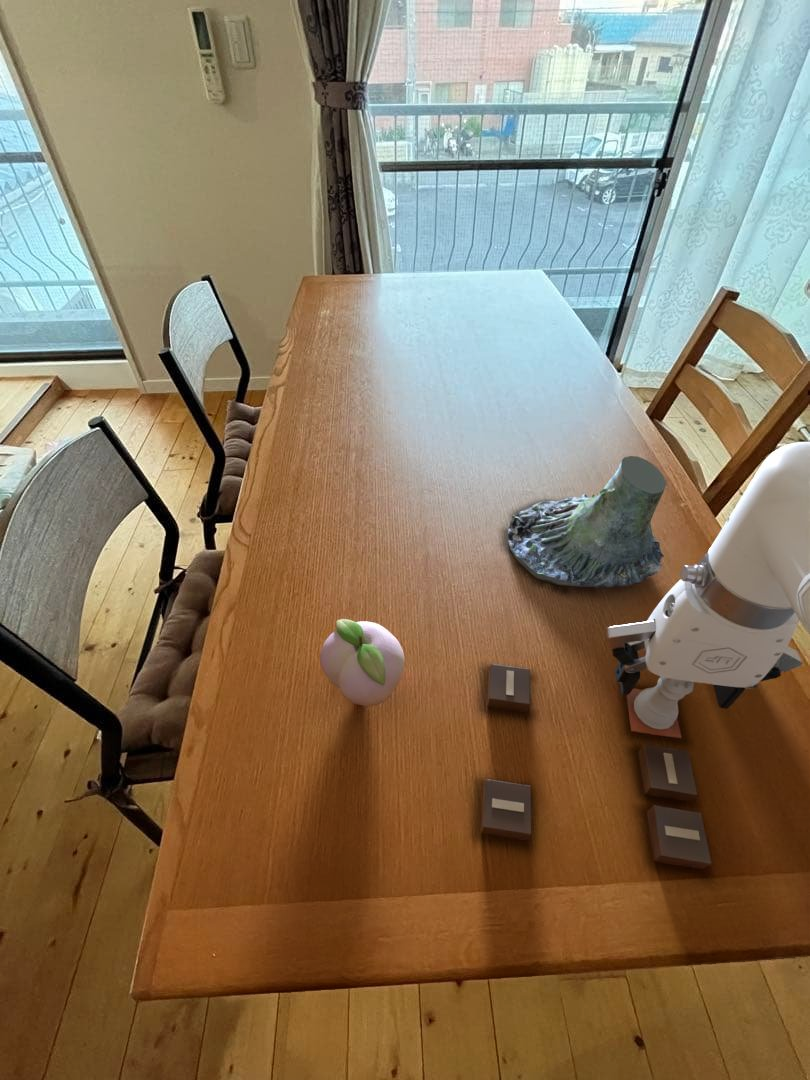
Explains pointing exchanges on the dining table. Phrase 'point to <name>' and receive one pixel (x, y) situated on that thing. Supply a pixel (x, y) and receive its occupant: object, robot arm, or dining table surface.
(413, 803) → the dining table surface
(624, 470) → the tree stump
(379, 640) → the decorative fruit
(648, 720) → the rook chess piece
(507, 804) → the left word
